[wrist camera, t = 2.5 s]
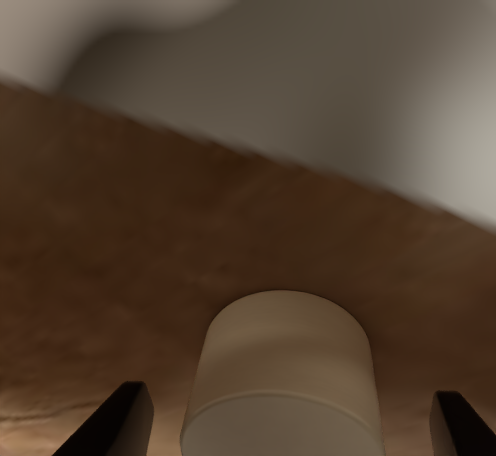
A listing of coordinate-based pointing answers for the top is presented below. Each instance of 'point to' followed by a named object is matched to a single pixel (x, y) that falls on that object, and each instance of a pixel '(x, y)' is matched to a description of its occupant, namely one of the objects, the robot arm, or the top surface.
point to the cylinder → (284, 382)
